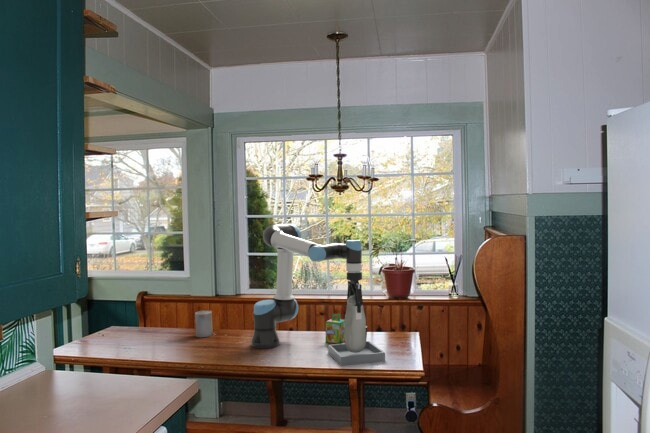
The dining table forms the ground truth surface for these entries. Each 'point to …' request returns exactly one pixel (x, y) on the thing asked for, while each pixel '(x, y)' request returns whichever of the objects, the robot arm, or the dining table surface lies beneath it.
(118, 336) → the dining table surface
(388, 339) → the dining table surface
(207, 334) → the pillar candle
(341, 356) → the tray
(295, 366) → the dining table surface
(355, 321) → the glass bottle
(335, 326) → the chalk box
